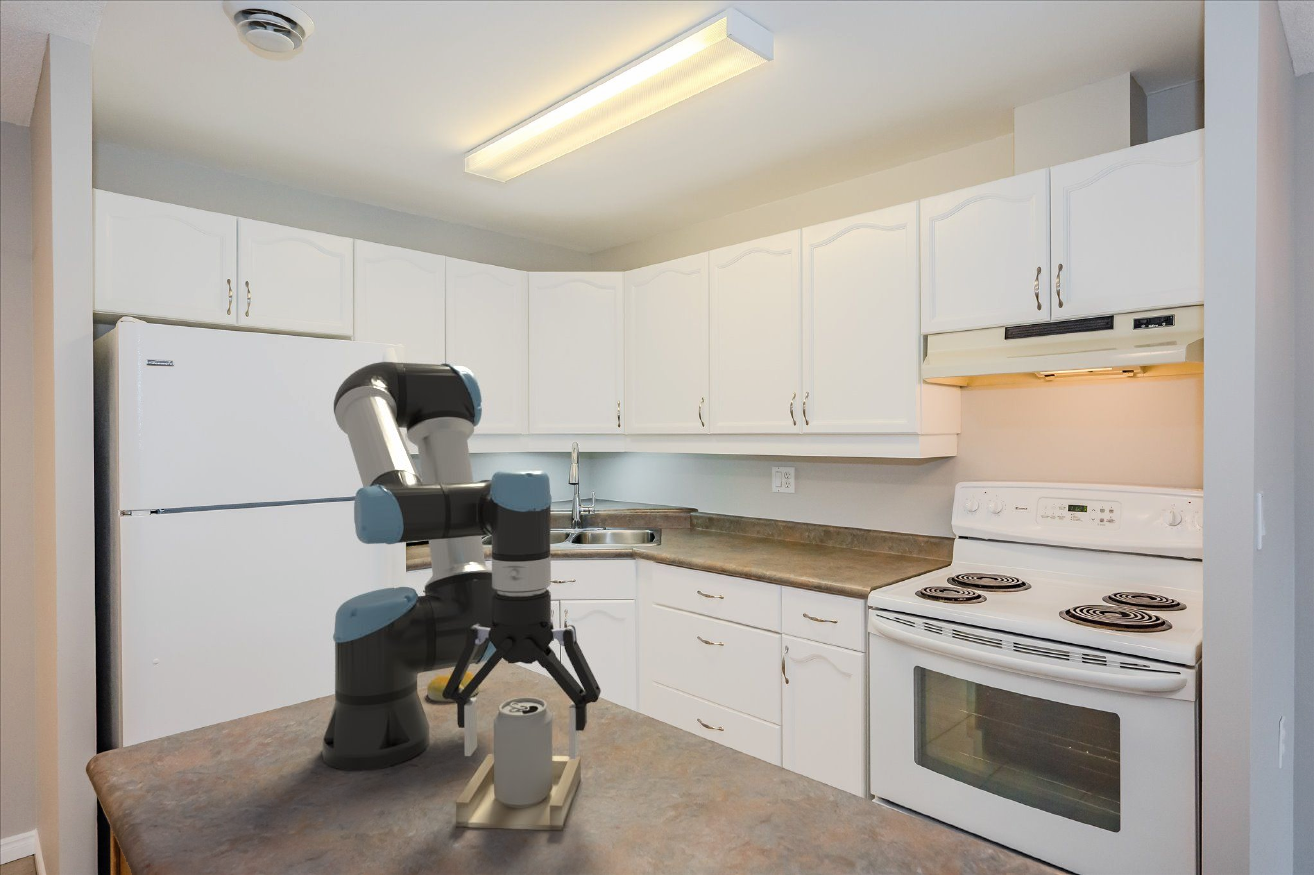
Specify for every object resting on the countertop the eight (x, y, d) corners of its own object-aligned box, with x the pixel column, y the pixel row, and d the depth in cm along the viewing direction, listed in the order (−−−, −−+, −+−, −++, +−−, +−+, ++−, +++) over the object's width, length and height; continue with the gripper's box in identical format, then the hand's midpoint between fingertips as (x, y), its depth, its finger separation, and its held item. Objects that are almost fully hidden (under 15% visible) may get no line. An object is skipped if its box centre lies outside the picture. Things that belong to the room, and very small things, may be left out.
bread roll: (419, 695, 131) (419, 673, 131) (464, 683, 137) (464, 662, 137) (440, 708, 125) (440, 685, 125) (486, 695, 131) (486, 673, 131)
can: (539, 814, 89) (539, 718, 88) (483, 808, 90) (483, 713, 90) (560, 785, 96) (560, 695, 96) (508, 779, 97) (508, 691, 97)
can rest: (456, 826, 87) (456, 802, 87) (488, 775, 100) (488, 753, 100) (562, 830, 86) (561, 805, 86) (580, 778, 99) (580, 756, 99)
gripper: (415, 595, 90) (416, 763, 90) (613, 597, 88) (614, 769, 88) (438, 582, 97) (439, 737, 98) (620, 584, 96) (621, 742, 96)
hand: (522, 753), depth 93 cm, fingers open, 13 cm apart
